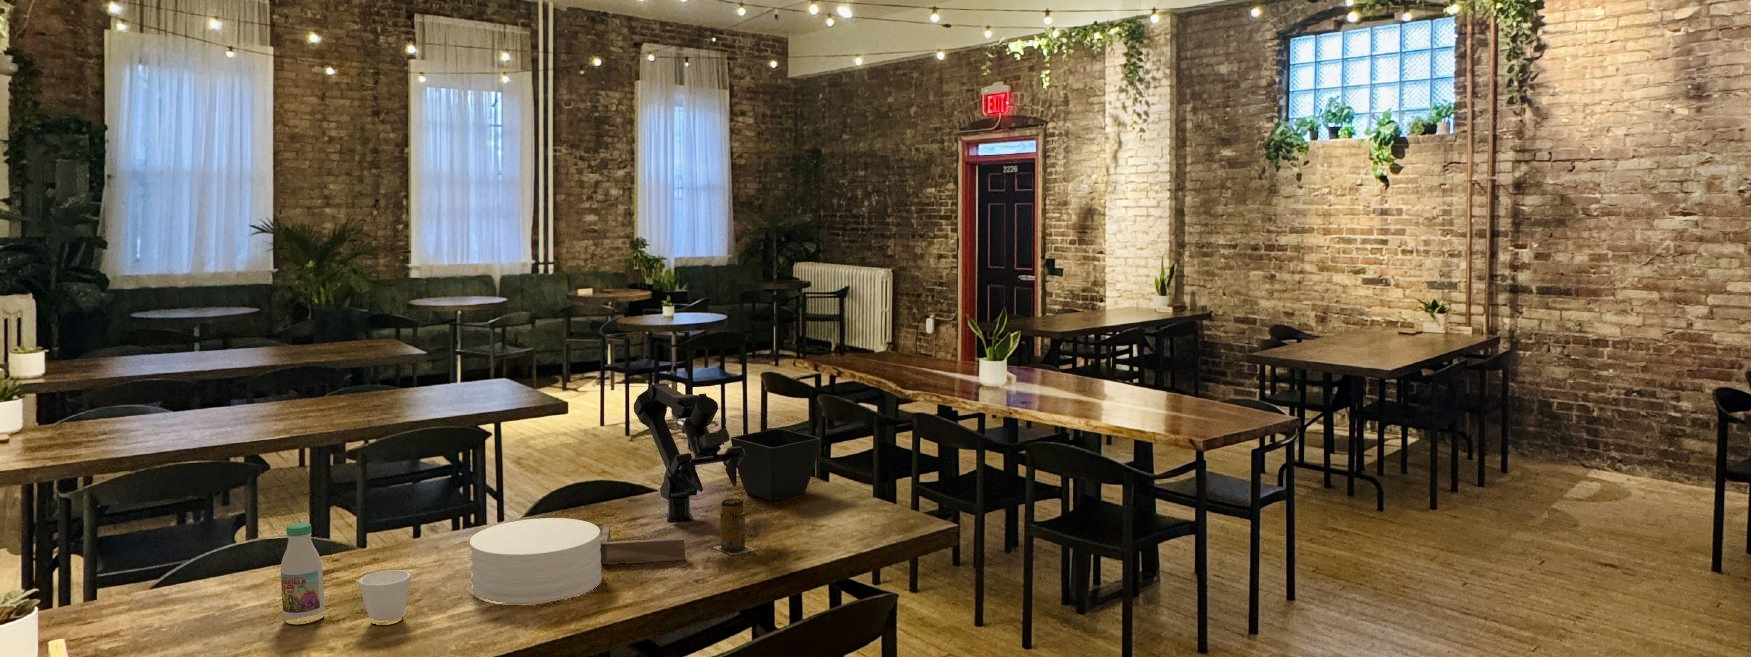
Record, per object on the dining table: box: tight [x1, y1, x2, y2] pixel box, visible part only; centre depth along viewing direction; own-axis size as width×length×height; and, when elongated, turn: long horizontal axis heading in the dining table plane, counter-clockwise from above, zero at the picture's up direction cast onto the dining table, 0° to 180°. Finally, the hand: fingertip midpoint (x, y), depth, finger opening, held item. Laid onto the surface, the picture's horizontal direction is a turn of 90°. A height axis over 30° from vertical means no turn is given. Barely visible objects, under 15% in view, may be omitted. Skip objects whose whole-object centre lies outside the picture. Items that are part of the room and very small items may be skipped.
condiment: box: [712, 498, 757, 556], centre depth 290 cm, size 7×8×12 cm
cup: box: [358, 569, 412, 621], centre depth 242 cm, size 10×10×9 cm
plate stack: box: [469, 517, 603, 604], centre depth 264 cm, size 28×28×12 cm
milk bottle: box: [280, 522, 326, 618], centre depth 242 cm, size 8×8×20 cm
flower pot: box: [730, 428, 821, 502], centre depth 342 cm, size 19×19×17 cm
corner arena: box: [600, 523, 685, 565], centre depth 288 cm, size 18×20×5 cm
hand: (718, 488), depth 295 cm, fingers open, 9 cm apart
